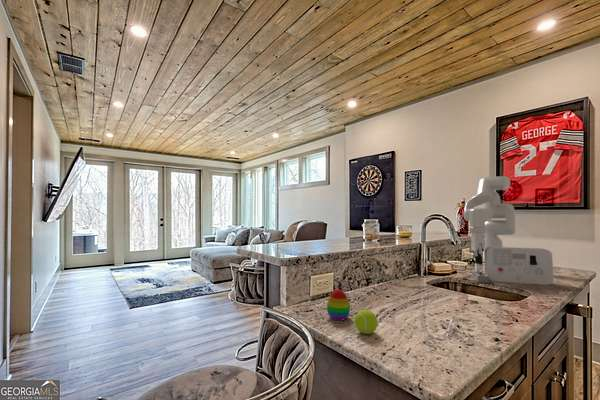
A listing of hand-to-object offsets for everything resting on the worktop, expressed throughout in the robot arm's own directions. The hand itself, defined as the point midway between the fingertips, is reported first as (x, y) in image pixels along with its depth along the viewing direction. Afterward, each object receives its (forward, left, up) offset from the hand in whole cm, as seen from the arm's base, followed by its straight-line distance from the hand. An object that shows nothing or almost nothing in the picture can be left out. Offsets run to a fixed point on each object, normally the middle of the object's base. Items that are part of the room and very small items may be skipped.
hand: (478, 263), depth 159 cm
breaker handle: (-3, 0, -6) cm, 7 cm away
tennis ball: (+92, -50, -9) cm, 105 cm away
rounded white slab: (+1, +18, -9) cm, 20 cm away
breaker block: (+1, 0, -9) cm, 9 cm away
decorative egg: (+82, -61, -9) cm, 103 cm away
